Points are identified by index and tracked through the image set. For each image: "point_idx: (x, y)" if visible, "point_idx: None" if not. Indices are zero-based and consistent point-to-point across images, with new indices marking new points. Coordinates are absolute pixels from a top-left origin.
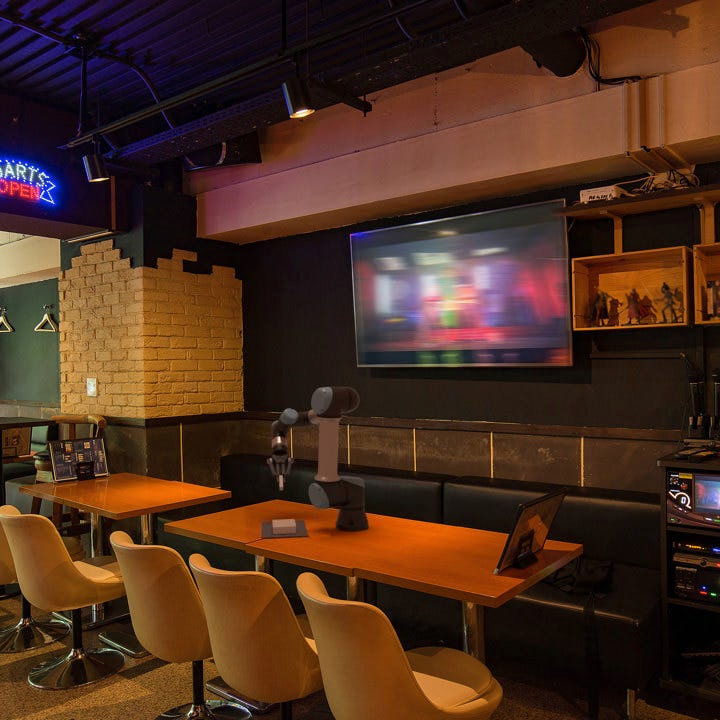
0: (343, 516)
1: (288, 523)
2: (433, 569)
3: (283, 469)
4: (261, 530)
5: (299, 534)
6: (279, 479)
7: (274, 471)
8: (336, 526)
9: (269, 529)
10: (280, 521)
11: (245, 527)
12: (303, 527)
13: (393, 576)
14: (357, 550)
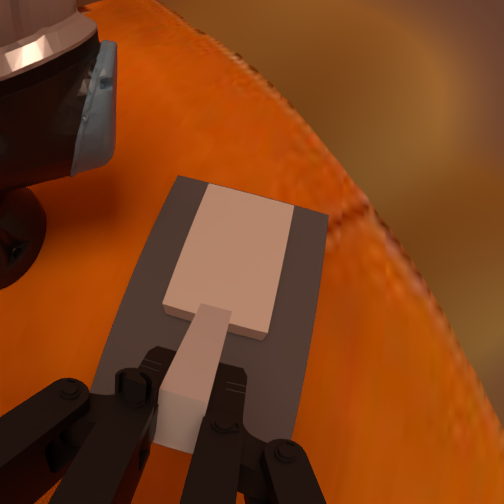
0: (20, 191)
1: (219, 233)
2: (122, 19)
3: (95, 470)
4: (316, 302)
5: (201, 189)
6: (217, 366)
7: (279, 487)
8: (40, 238)
9: (283, 306)
10: (240, 284)
11: (356, 431)
12: (142, 276)
13: (178, 14)
14: (141, 74)
